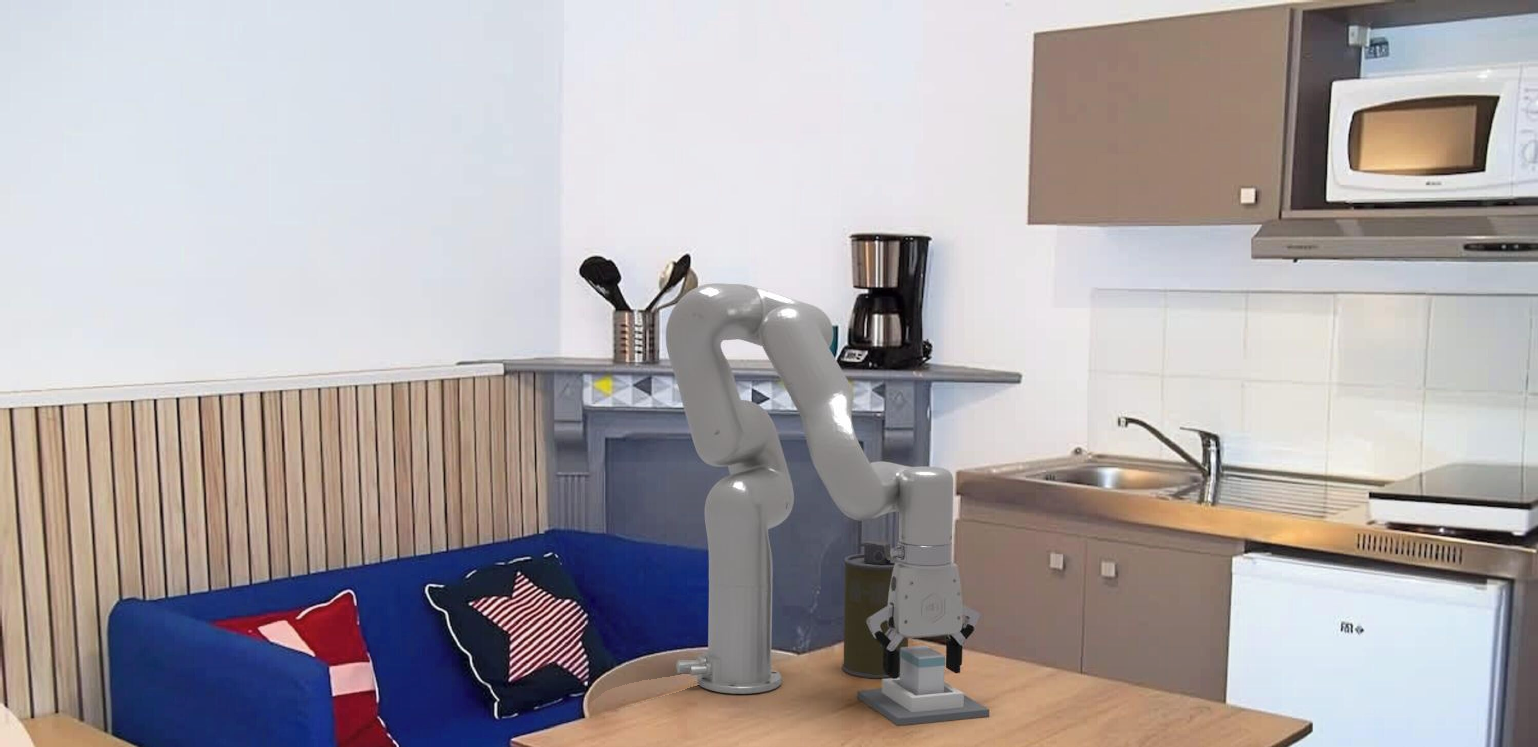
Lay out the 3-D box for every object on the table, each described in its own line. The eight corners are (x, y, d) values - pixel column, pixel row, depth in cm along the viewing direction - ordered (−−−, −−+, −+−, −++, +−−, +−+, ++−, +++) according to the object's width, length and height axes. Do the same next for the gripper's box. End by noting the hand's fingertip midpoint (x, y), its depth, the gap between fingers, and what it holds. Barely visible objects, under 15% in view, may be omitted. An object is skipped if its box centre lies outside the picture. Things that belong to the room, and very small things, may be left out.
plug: (917, 706, 199) (918, 657, 198) (899, 695, 204) (900, 647, 204) (944, 704, 200) (945, 655, 200) (924, 692, 206) (925, 645, 205)
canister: (832, 673, 219) (834, 545, 218) (854, 657, 229) (857, 534, 228) (900, 682, 215) (902, 551, 214) (919, 665, 225) (922, 540, 223)
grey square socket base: (898, 725, 193) (898, 703, 193) (857, 697, 207) (857, 676, 206) (989, 716, 198) (989, 695, 198) (943, 689, 211) (943, 669, 211)
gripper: (880, 562, 195) (877, 685, 196) (992, 556, 201) (989, 675, 202) (858, 552, 202) (856, 671, 203) (967, 546, 208) (964, 662, 209)
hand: (922, 673), depth 202 cm, fingers open, 9 cm apart
